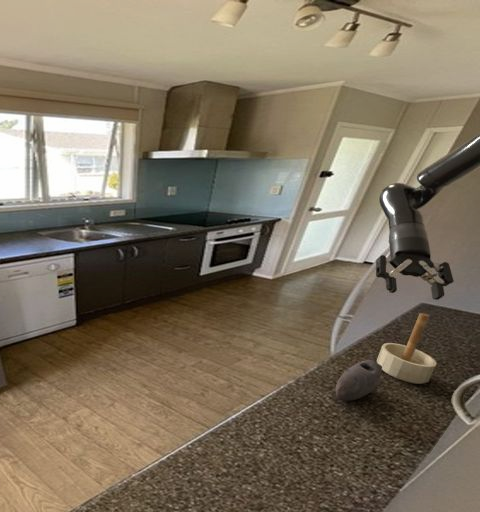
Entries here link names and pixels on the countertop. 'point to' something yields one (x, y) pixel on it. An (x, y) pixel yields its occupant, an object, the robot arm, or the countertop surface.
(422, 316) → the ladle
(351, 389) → the perforated stone tool
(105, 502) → the countertop surface
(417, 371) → the bowl
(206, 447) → the countertop surface
